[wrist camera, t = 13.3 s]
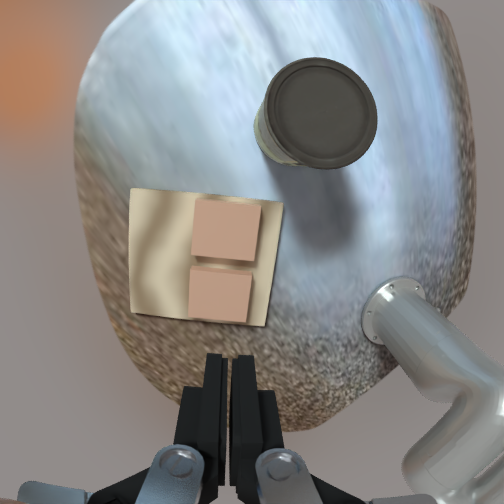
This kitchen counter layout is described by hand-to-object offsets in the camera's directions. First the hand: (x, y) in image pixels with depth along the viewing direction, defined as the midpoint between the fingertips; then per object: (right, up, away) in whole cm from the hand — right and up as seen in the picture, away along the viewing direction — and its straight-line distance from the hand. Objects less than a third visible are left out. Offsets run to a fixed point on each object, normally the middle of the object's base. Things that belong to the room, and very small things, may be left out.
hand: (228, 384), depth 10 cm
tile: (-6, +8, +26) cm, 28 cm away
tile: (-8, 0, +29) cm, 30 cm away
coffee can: (+6, +21, +26) cm, 34 cm away
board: (-6, +4, +30) cm, 31 cm away
